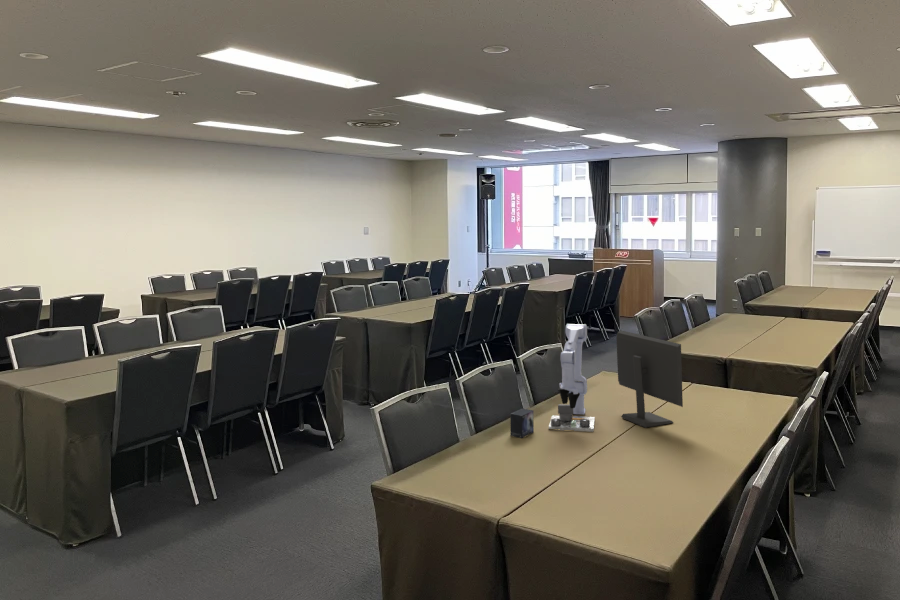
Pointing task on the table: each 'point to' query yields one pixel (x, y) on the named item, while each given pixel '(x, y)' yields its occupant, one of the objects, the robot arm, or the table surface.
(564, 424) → the plate
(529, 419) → the small box
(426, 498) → the table surface
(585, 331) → the robot arm
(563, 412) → the knob
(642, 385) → the computer monitor
